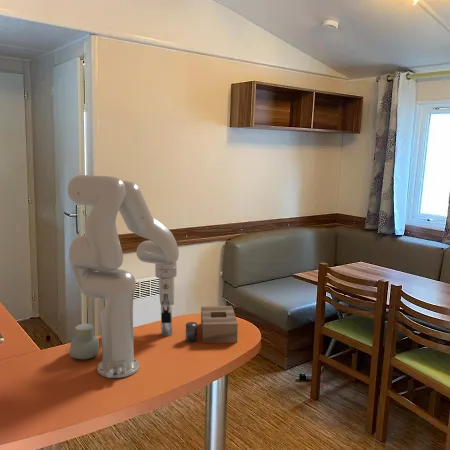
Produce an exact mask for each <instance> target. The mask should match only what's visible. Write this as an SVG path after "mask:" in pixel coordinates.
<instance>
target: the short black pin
mask: <svg viewBox="0 0 450 450" xmlns="http://www.w3.org/2000/svg"><path fill="white" fill-rule="evenodd" d="M185 341H186V342H187V343H190V344H191V343H196V342H197V341H198V323H197V322H196V321H195V322H194V321H190V322H187V323H185Z"/></svg>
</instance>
